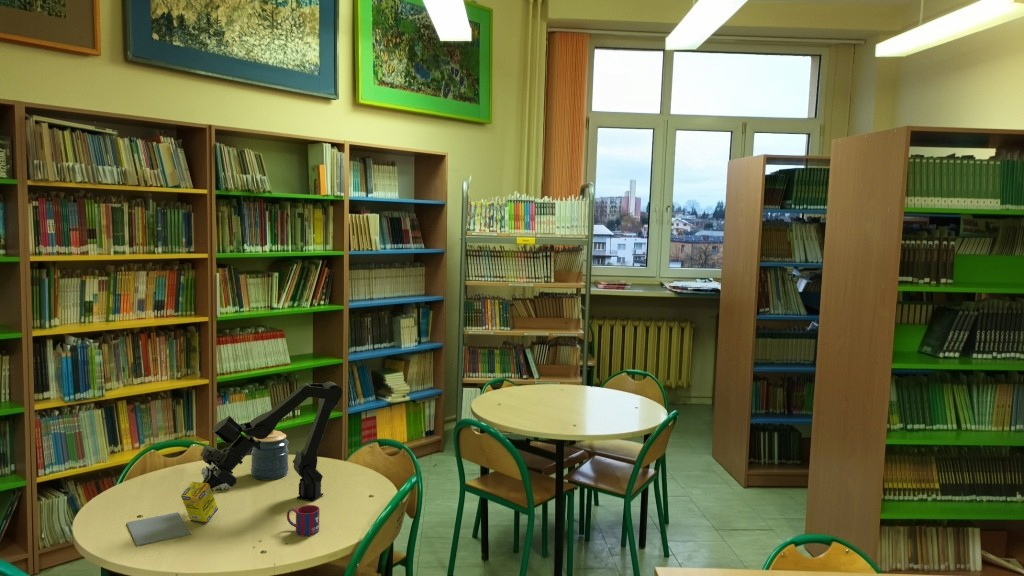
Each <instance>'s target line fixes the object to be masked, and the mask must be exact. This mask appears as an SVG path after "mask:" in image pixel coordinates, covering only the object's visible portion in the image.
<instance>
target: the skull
mask: <svg viewBox="0 0 1024 576" xmlns="http://www.w3.org/2000/svg"><path fill="white" fill-rule="evenodd" d="M209 466H210V465H209V464H208V465H207V467H209ZM200 473H201V475H202V478H203V479H204V478H205V476H206V474H207V472H206V466H205V467H202V468H201V472H200ZM230 488H231V487H230V486H229V485H228V484H226V483H225V484H221V485H219V486H217V487H214V488H212V489H211V490H213V491H214V492H215V491H217V489H221V491H224V489H225V490H227V491H228V489H230Z"/></svg>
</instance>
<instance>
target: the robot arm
mask: <svg viewBox="0 0 1024 576" xmlns="http://www.w3.org/2000/svg"><path fill="white" fill-rule="evenodd" d="M343 394H344V393H343V389H342V388H341V386H340V385H338V384H337V383H335V382H333V381H326V382H324V383H318V382H317V383H306V382H305V383H302V384H301V385H300V386H299V387H298V388H297V389H295V390H294V391H293V392H291V394H289V395H288V396H287V397H286V398H284V399H283V400H282V401H281V402H279V403H278V404H276V405H275V406H274V407H273V408H271V409H270V410H269V411H266V412H263V413H261V414H259V415H257V416H256V417H254V418H253V419H251V420H250V421H248V422H244V423H238V422H237V421H236V420H234V418H233V417H232V416H231V415H227V417H225V418H223V419H221V420H220V421H218V423H216V424H215V426H214V427H213V429H212V433H213V434H214V435H215V436H216V437H218V439H220V440H221V441H222V442H224V443H225V444H230V445H229V446H228V447H223V448H222V450H221V449H217V448H214V447H210V446H209V445H208V446H207V445H205V446H203V449H202V450H201V453H200V455H199V456H200V457H201V458H202V461H203V462H204V463H205V464H207V466H209V465H210V466H209V467H207V466H205V467H206V472H207V474H206V476H205V478H203V480H202V482H201V483H207V484H209V485H210V488H211V490H213V489H212V488H214V487H217V486H219V485H221V484H225V483H226V484H228V485H229V486H230V488H233V487H234V486H235V485H236V484H237V481H238V480H237V479H238V478H237V477H236V476H235V475H234V474H233V473H234V472H233V470H234V469H235V468H236V467H237V466H238V465H242V464H243V463H244V462H243V459H244V458H245V457H246V456H247V455H249V453H251V452H252V450H253V447H254V446H255V447H256V448H257V449H258V450H260V449H261V446H260V443H261V441H260V440H255V439H254V437H255V438H257V439H265V438H266V437H268V436H269V434H270V433H271V432H272V431H273V430H276V427H277V425H278V424H279V423H280V422H281V420H282V419H284V418H285V417H287V415H288V414H290V413H291V412H292V411H294V410H295V409H296V408H297V407H298V406H300V405H301V404H302V403H304V402H305V401H306V400H307V399H308V398H316V399H318V408H317V410H316V414H315V417H314V419H313V423H312V425H311V428H310V431H309V433H308V436H307V440H306V442H305V445H304V447H303V448H302V450H301V451H300V450H296V452H295V457H294V459H293V460H292V463H293V470H294V471H295V472H296V474H298V476H299V477H300V479H299V483H298V496H297V497H296V499H297V500H303V501H309V502H314V501H316V500H317V499H319V498H321V497H323V496H324V495H323V494H324V493H323V492H322V479H323V478H324V476H323V474H322V473H321V472H320V471H319V470H318V469H317V467H318V466H317V465H318V453H319V452H318V451H319V448H320V445H321V442H322V440H323V438H324V435H325V430H326V429H327V425H328V422H329V420H330V418H331V414H332V412H333V410H334V409H335V408H336V407H337V406H338V404H339V402H340V400H341V399H342V396H343ZM322 495H323V496H322ZM320 496H321V497H320Z"/></svg>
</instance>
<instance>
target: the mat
mask: <svg viewBox="0 0 1024 576" xmlns="http://www.w3.org/2000/svg"><path fill="white" fill-rule="evenodd" d="M126 524H127V525H126V526H127V528H128V530H129V532H130V534H131V537H132V538H133V541H134V543H135V546H136V547H139V546H145V545H149V544H153V543H158V542H164V541H167V540H171V539H176V538H180V537H181V538H182V537H186V536H190V535H192V532H191V531H190V529H189V528H188V526H187V524H186V523H185V521H184V519H183V518H182V517H181V515H180V513H179V511H178V512H171V513H167V514H163V515H156V516H152V517H146V518H142V519H136V520H132V521H127V522H126Z"/></svg>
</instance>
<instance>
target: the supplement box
mask: <svg viewBox="0 0 1024 576" xmlns="http://www.w3.org/2000/svg"><path fill="white" fill-rule="evenodd" d="M180 498H181V500H182V501H183V502H182V503H183V505H184V507H185V510H186V513H187V515H188V518H189V520H190V522H194V523H200V524H208V523H209V522H210V520H211V519H212V518H213V516H214V515H215V514H216V513H217V511H218V510H219V508H218V505H217V501H216V500H215V499H216V498H215V496H214V494H213V492H212V489H211V488H210V485H209V484H207V483H202V482H198V481H192V482H191V483H190V484H189V485H188V486H187V488H186V489H185V490H184V491H183V492H182V493H181V495H180Z"/></svg>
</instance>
